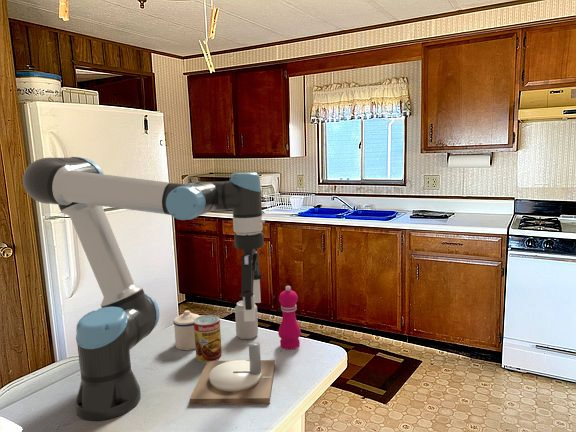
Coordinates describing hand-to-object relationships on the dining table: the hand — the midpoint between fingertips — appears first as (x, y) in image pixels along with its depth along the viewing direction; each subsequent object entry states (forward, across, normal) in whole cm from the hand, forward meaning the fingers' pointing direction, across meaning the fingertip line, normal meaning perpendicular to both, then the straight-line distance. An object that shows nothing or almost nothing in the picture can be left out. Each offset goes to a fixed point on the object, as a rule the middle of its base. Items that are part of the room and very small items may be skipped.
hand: (253, 311), depth 113 cm
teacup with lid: (+20, +26, +26) cm, 42 cm away
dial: (+19, 0, +6) cm, 19 cm away
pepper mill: (+21, +23, -8) cm, 32 cm away
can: (+20, +31, +7) cm, 38 cm away
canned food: (+20, +16, +17) cm, 31 cm away
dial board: (+20, 0, +6) cm, 21 cm away
